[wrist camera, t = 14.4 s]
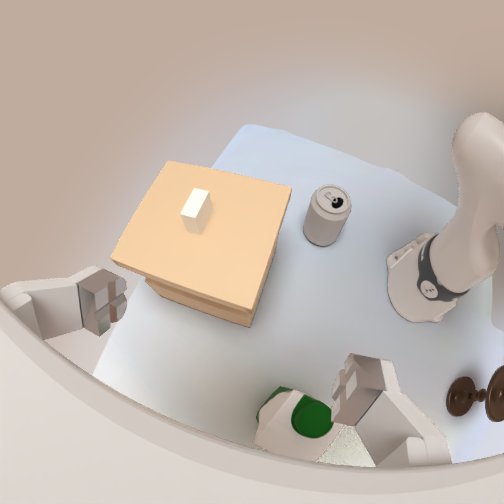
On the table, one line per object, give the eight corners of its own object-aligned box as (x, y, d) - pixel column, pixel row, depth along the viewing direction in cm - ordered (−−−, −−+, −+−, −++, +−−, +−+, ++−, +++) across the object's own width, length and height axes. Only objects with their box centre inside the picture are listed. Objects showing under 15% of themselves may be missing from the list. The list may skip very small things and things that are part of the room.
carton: (192, 227, 56) (183, 203, 49) (275, 250, 54) (278, 228, 46) (161, 296, 50) (144, 281, 42) (249, 327, 47) (248, 318, 39)
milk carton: (319, 404, 41) (360, 421, 23) (289, 444, 38) (310, 485, 20) (279, 379, 43) (295, 382, 25) (247, 419, 40) (242, 448, 22)
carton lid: (171, 170, 42) (161, 142, 36) (290, 198, 39) (295, 168, 33) (117, 265, 35) (95, 244, 29) (251, 314, 32) (250, 299, 26)
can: (323, 254, 53) (339, 223, 42) (295, 232, 55) (304, 196, 45) (343, 231, 55) (361, 198, 45) (316, 210, 58) (328, 174, 47)
